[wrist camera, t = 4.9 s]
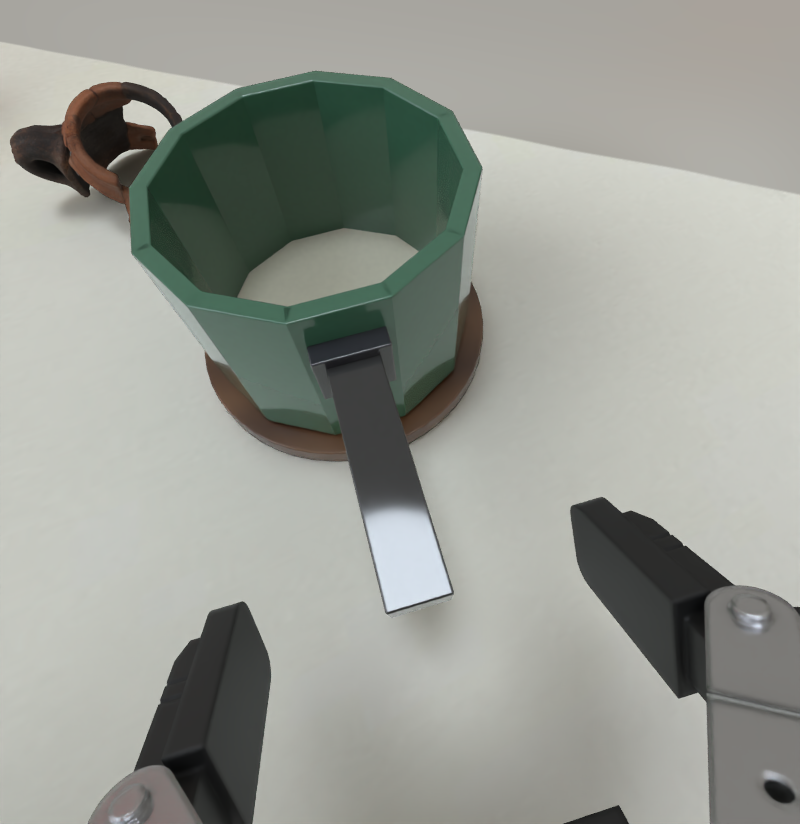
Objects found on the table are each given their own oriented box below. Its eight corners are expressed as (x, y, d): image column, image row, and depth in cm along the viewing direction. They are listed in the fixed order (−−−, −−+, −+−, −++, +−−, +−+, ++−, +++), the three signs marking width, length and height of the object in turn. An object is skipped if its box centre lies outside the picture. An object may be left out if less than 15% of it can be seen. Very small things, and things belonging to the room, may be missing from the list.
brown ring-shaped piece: (192, 135, 41) (183, 63, 34) (217, 245, 41) (214, 198, 34) (25, 139, 37) (-30, 58, 30) (53, 260, 37) (5, 211, 30)
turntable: (529, 400, 28) (533, 390, 27) (244, 506, 26) (236, 500, 25) (421, 206, 36) (420, 192, 34) (191, 279, 34) (183, 267, 33)
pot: (210, 261, 32) (124, 112, 23) (422, 209, 33) (419, 46, 24) (265, 667, 22) (147, 680, 13) (576, 572, 23) (670, 521, 14)
